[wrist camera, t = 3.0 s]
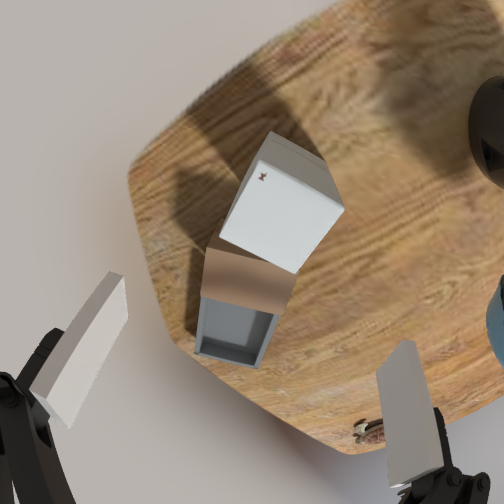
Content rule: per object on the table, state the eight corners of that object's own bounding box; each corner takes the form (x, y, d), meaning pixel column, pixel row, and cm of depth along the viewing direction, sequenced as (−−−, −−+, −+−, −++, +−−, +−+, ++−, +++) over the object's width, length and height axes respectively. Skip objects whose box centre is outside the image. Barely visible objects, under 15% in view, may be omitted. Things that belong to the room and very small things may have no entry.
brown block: (220, 217, 36) (206, 247, 31) (299, 237, 36) (300, 270, 31) (213, 262, 40) (199, 295, 34) (284, 280, 40) (282, 316, 34)
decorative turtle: (335, 429, 66) (336, 445, 62) (387, 407, 58) (390, 424, 54) (371, 441, 71) (372, 455, 66) (418, 421, 62) (420, 435, 58)
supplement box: (239, 183, 34) (213, 236, 23) (270, 128, 30) (258, 155, 19) (294, 213, 35) (294, 278, 24) (328, 162, 31) (348, 208, 20)
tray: (209, 264, 40) (203, 278, 38) (287, 283, 41) (286, 298, 38) (198, 340, 50) (194, 353, 47) (259, 355, 50) (257, 369, 47)
